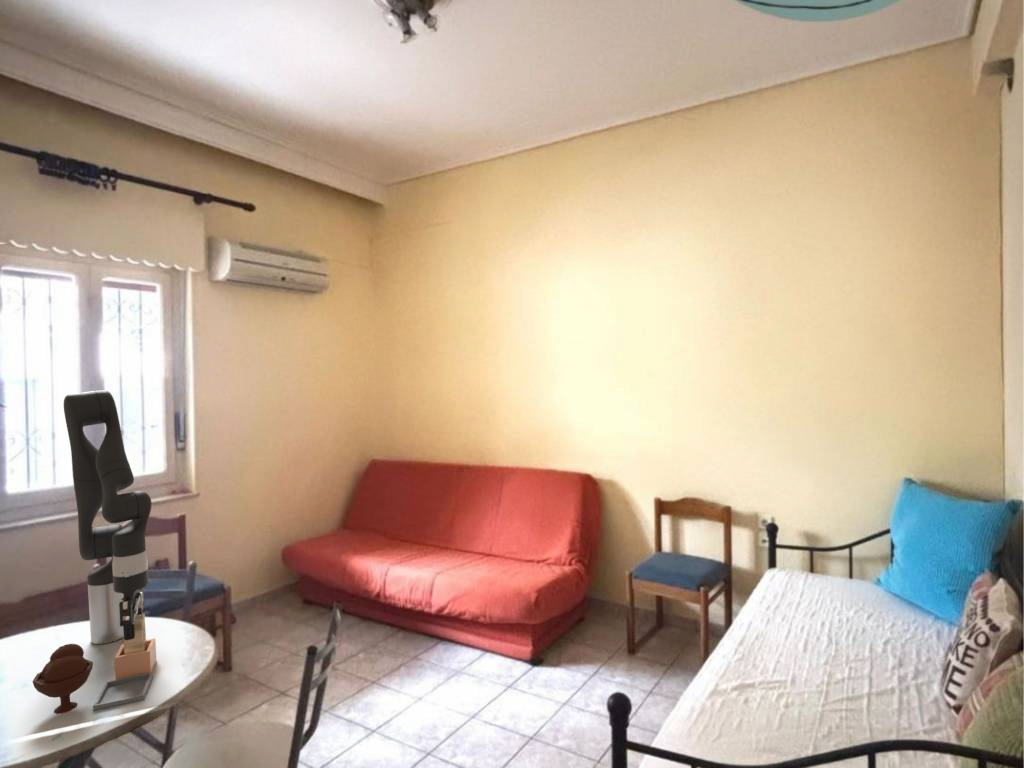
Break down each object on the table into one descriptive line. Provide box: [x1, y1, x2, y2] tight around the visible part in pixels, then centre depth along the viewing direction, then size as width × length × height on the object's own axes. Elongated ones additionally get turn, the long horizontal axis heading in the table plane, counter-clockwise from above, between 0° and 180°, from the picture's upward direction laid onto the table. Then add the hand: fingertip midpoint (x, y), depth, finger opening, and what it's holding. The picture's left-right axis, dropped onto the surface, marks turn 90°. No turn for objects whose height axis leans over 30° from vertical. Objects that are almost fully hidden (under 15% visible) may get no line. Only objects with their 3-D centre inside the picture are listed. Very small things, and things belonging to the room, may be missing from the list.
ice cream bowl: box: [31, 643, 94, 715], centre depth 132 cm, size 11×11×15 cm
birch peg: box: [123, 613, 147, 655], centre depth 147 cm, size 4×4×14 cm
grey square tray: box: [92, 671, 154, 712], centre depth 137 cm, size 11×10×2 cm
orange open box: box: [113, 638, 158, 680], centre depth 147 cm, size 8×8×7 cm
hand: (133, 631), depth 146 cm, fingers open, 8 cm apart
